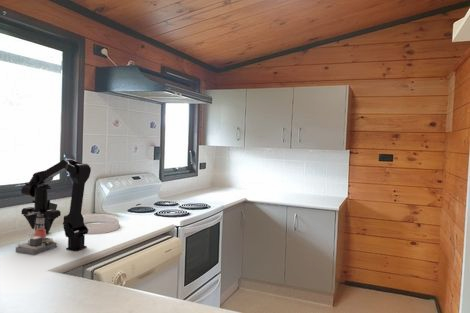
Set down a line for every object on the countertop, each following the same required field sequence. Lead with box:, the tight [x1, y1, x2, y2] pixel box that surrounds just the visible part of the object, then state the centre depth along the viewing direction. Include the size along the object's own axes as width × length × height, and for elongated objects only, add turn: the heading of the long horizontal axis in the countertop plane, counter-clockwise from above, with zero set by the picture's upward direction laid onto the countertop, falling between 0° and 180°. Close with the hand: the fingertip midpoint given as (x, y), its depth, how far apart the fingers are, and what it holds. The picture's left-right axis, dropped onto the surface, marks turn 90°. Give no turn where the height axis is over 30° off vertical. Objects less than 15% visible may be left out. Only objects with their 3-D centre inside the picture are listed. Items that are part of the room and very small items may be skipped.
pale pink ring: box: [75, 213, 120, 235], centre depth 206 cm, size 27×27×6 cm
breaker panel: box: [15, 237, 58, 256], centre depth 164 cm, size 10×13×4 cm
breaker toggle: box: [29, 236, 42, 247], centre depth 160 cm, size 3×4×4 cm
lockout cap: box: [34, 228, 47, 238], centre depth 176 cm, size 5×5×6 cm
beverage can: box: [34, 210, 50, 234], centre depth 190 cm, size 7×7×12 cm
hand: (40, 229), depth 176 cm, fingers open, 9 cm apart
